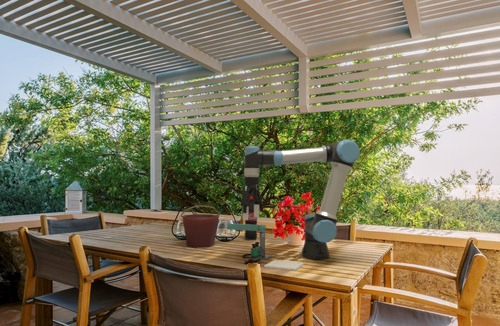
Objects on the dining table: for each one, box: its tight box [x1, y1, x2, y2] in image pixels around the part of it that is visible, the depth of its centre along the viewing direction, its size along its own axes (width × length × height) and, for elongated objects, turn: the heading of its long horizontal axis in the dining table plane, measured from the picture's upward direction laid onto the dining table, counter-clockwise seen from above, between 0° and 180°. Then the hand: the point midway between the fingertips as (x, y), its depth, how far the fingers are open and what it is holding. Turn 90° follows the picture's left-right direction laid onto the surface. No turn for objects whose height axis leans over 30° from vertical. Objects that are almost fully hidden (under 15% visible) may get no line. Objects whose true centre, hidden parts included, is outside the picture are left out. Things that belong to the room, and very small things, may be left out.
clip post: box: [259, 231, 273, 261], centre depth 214 cm, size 8×8×14 cm
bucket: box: [180, 205, 221, 249], centre depth 249 cm, size 24×22×25 cm
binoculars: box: [241, 241, 262, 264], centre depth 201 cm, size 9×11×10 cm
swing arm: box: [226, 222, 267, 232], centre depth 217 cm, size 22×4×3 cm, turn 73°
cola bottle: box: [244, 196, 258, 241], centre depth 273 cm, size 8×8×30 cm
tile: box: [263, 259, 305, 272], centre depth 196 cm, size 16×14×1 cm
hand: (251, 218), depth 202 cm, fingers open, 13 cm apart
